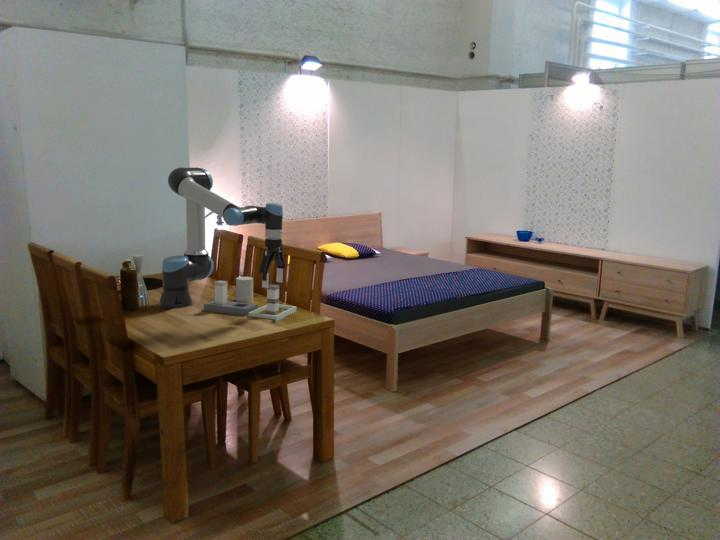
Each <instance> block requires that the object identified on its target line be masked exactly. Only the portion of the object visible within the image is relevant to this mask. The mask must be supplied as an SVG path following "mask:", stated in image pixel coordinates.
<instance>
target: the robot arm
mask: <svg viewBox="0 0 720 540" xmlns="http://www.w3.org/2000/svg"><path fill="white" fill-rule="evenodd" d="M167 183H168V186H169V188H170V189H171V190H172V192H174V193H175V194H177V195H178V196H180V197H182V198H184V199H185V205H186V206H185V211H186V212H185V213H186V250H185V251H184V252H183V255H171V256H167V257H165V258H164V259H163V260H162V262H161V263H162V265H161V276H162V292H161V296H160V299H159V308H160V309H163V310H168V311H169V310H173V309H181V308H187V307H191V306H192V305H193V304H194V303H193V299H192V295H191V293H190V289H189V288H190V286H189V283H190V282H191V283H192V282H195V281H201V280H205V279H207V278H209V277H210V276H211V275H212V273H213V271H214V267H215V266H214V265H215V264H214V261H213V259H212V257H211V256H209V251H208V250H207V249H206V209H207V210H209V211H211V212H213V213H214V214H216V215H218V216H219V217H221V218H222V219H223V221H224V222H225V224H226V225H227V226H233V227H236V226H237V227H238V226H242V225H251V224H261V225H264V227H265V228H264V229H265V230H264V231H265V233H264V238H265V239H264V247H266V248H267V250H263V254H262V255H263V256H262V259H261V262H260V263H261V264H260V267H259V273H260V274H261V275H262V276H261V279H262V280H261V288H265V289H267V288H268V285H269V279H270V278H269V274H270V273H269V271H270V267H271V265H272V263H273V261H274V262H275V264H276V266H277V268H276V280H275V281H276V283H283V270H284V269H285V268H286V261H285V257H284V252H283V250H284V249H283V247H282V246H283V239H282V238H283V217H284V211H283V204H281V203H278V202H276V203H275V202H270V203H269V202H268V203H266V204H265V206H257V205H245V206H237V205H236V204H234V203H233V202H231V201H229V200H227V199H225V198H224V197H222V196H220V195H219V194H216V193H215V192H213V191H211V189H212V188H213V183H214V181H213V177H212V175H211V173H210V172H209V171H208V170H207V169H205V168H202V167H197V166H196V167H176V168H175V169H172V171H171V172H170V173H169V175H168V178H167Z"/></svg>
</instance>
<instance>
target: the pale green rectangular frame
mask: <svg viewBox="0 0 720 540" xmlns="http://www.w3.org/2000/svg"><path fill="white" fill-rule="evenodd" d="M279 309H283V310H285V311H282V312H279V313H277V314H268V313H261V312H263V311H265V310H266V311H267V304H265V305H263V306H260V307H257V309H256V310H253V311H251V312H249V313H248V315H247V316H248V317H251V318H252V317H253V318H262V319H267V320H268V319H270V320H271V322H275V321H276V323H277V322H279V321H281V320H282V319H285V318H287V317H289V316H291V315H292V313H293V314H295V313H296V312H297V306H294V305H285V304H279ZM294 312H295V313H294ZM290 314H291V315H290ZM288 315H289V316H288ZM286 316H287V317H286ZM284 317H285V318H284Z"/></svg>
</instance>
